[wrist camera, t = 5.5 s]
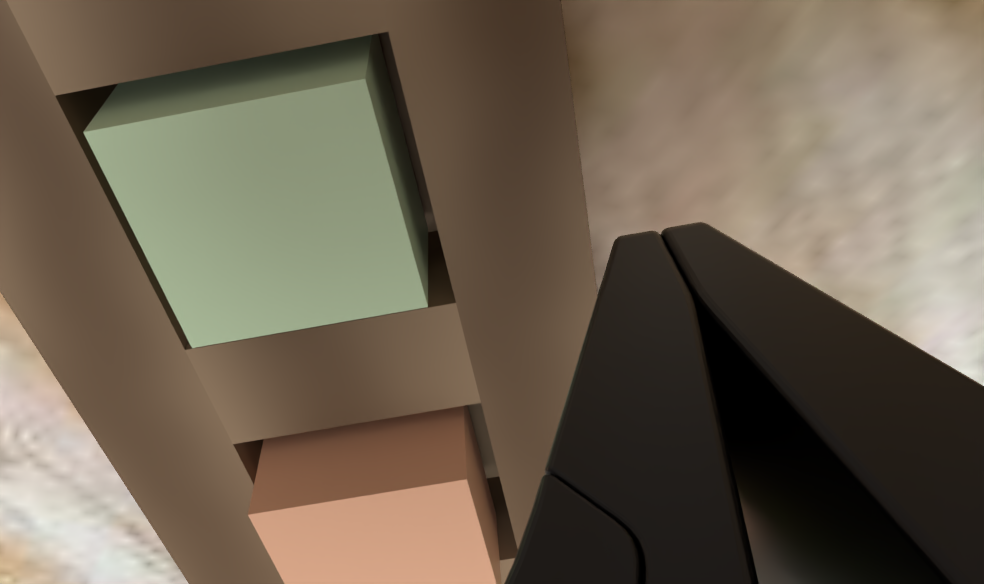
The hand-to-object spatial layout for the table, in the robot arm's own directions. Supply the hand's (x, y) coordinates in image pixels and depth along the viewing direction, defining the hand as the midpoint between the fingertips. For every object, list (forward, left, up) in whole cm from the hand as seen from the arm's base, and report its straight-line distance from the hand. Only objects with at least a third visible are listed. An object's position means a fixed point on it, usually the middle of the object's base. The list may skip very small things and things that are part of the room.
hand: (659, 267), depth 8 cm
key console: (+6, +12, -12) cm, 18 cm away
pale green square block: (+6, +3, -10) cm, 12 cm away
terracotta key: (+6, +12, -9) cm, 16 cm away
